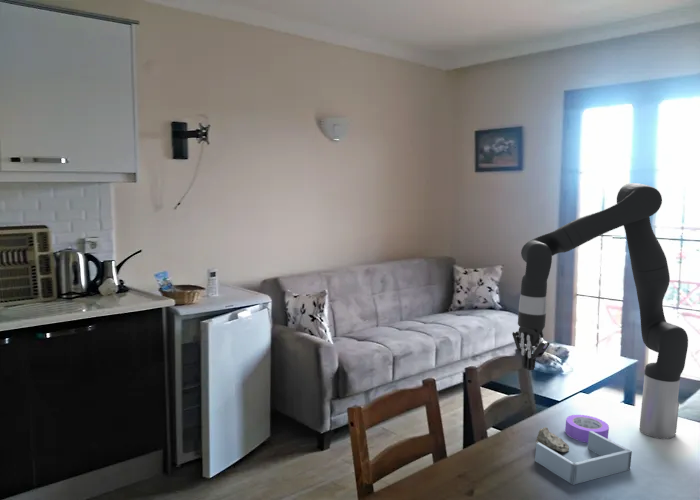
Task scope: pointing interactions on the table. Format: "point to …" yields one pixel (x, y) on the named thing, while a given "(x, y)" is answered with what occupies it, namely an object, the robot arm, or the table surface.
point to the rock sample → (551, 440)
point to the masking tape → (585, 427)
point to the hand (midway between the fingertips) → (528, 368)
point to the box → (608, 463)
